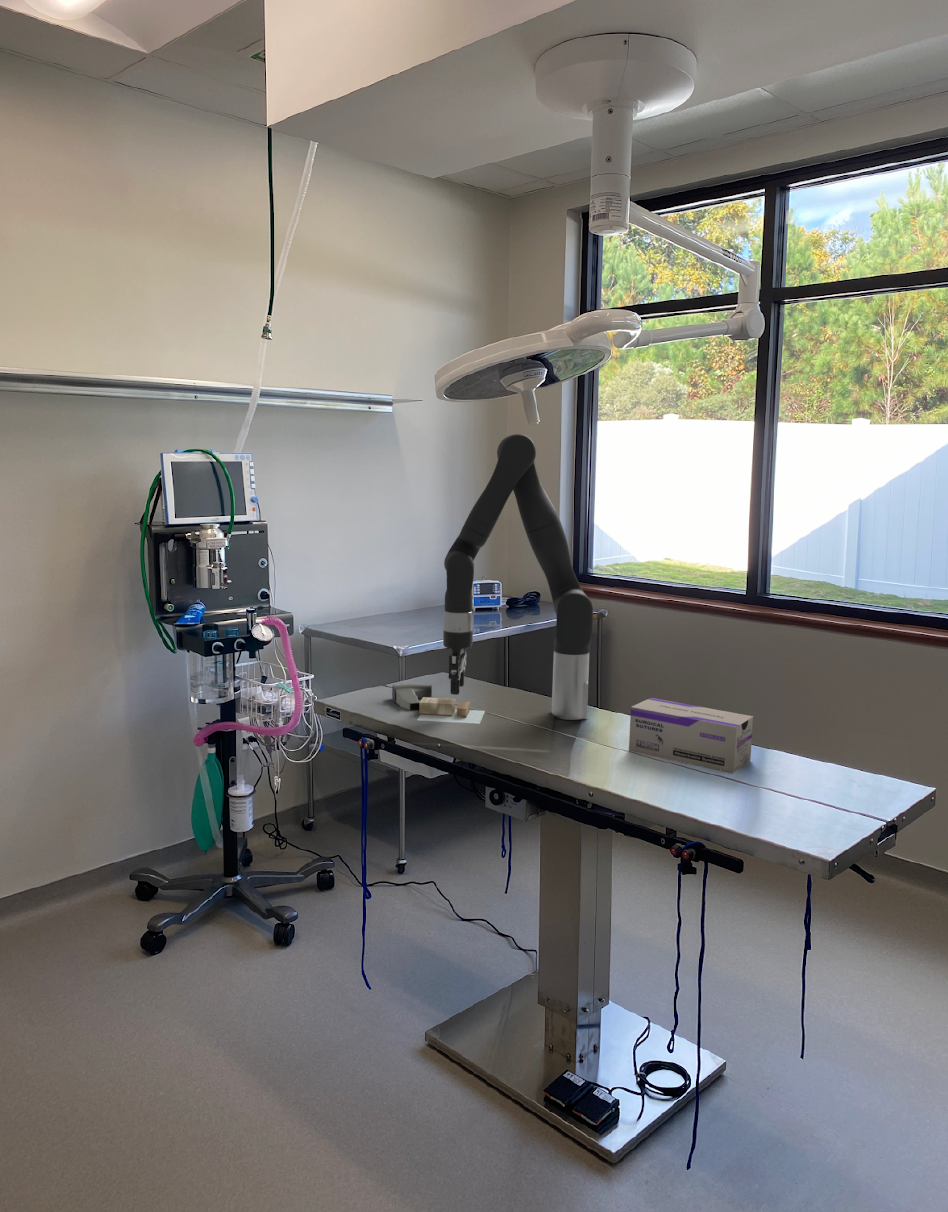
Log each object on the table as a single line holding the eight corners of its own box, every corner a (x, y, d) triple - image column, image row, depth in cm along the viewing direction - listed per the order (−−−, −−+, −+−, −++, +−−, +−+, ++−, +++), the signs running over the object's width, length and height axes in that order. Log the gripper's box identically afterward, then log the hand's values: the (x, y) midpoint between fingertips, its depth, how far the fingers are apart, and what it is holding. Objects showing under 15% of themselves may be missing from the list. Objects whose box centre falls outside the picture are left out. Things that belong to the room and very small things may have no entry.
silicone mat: (485, 713, 244) (485, 710, 244) (479, 726, 233) (479, 723, 232) (425, 709, 246) (425, 707, 246) (416, 722, 234) (416, 720, 234)
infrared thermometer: (405, 717, 243) (388, 699, 257) (448, 713, 248) (430, 695, 261) (406, 700, 242) (389, 683, 256) (449, 697, 247) (430, 680, 260)
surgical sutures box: (628, 751, 216) (630, 706, 214) (648, 740, 224) (650, 697, 223) (733, 774, 201) (736, 727, 200) (750, 762, 210) (753, 716, 208)
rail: (469, 710, 244) (469, 701, 244) (466, 717, 237) (466, 708, 237) (460, 710, 244) (460, 701, 244) (456, 717, 238) (457, 708, 237)
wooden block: (455, 698, 243) (423, 697, 244) (452, 704, 238) (419, 702, 239) (455, 710, 244) (423, 708, 245) (451, 716, 238) (419, 714, 239)
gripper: (469, 634, 230) (468, 697, 233) (476, 624, 244) (475, 684, 247) (439, 633, 231) (438, 696, 234) (447, 623, 245) (447, 682, 247)
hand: (457, 690), depth 240 cm, fingers open, 8 cm apart
